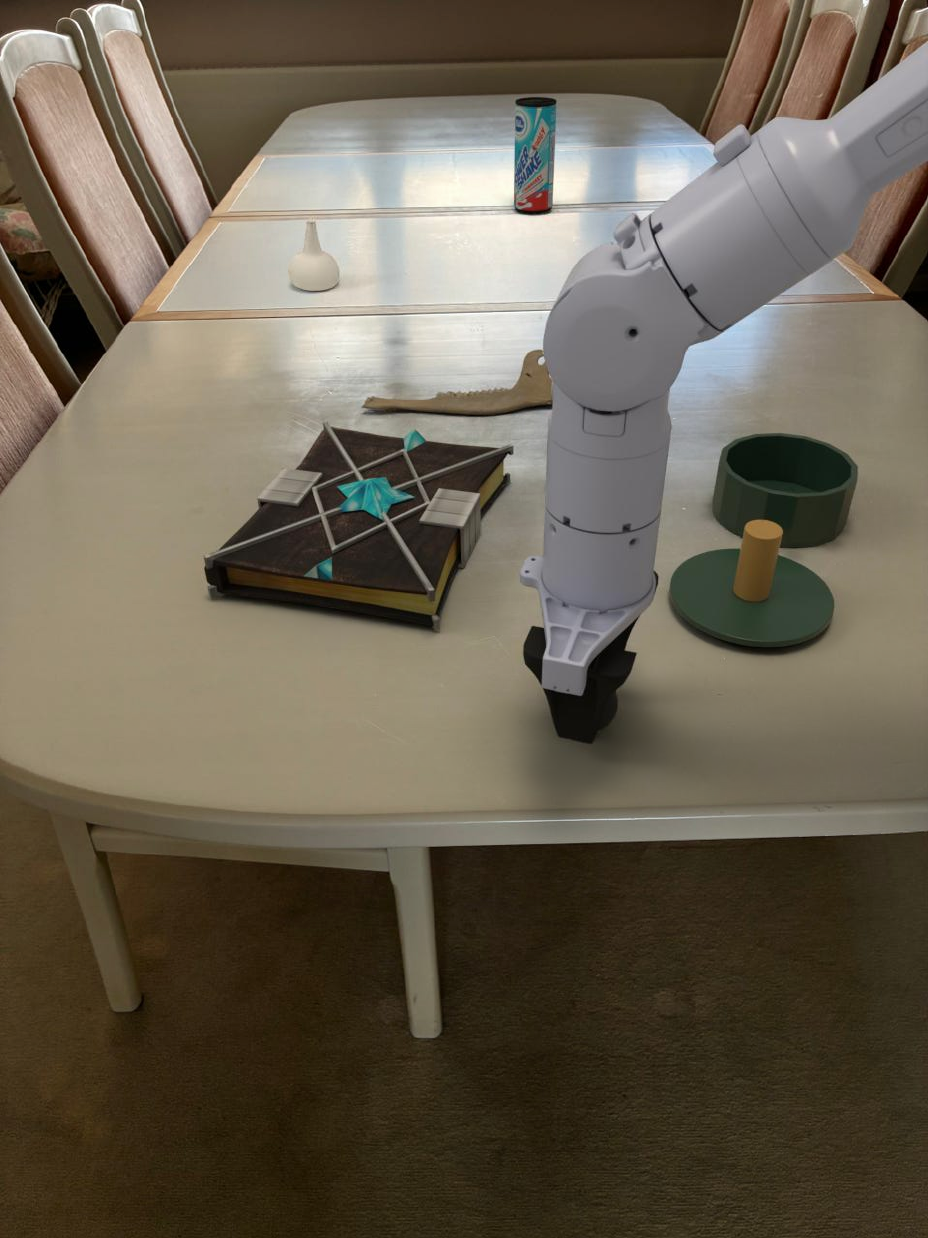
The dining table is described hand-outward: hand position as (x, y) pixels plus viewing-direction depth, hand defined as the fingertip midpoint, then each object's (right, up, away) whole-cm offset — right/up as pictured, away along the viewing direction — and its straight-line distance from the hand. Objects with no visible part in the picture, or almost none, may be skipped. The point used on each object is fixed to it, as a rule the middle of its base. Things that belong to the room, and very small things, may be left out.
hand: (586, 707), depth 56 cm
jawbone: (-7, +27, +39) cm, 48 cm away
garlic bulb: (-26, +47, +65) cm, 84 cm away
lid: (+12, +7, +10) cm, 17 cm away
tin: (+17, +13, +20) cm, 29 cm away
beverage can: (+3, +67, +91) cm, 113 cm away
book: (-14, +11, +18) cm, 25 cm away
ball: (0, 0, 0) cm, 0 cm away
